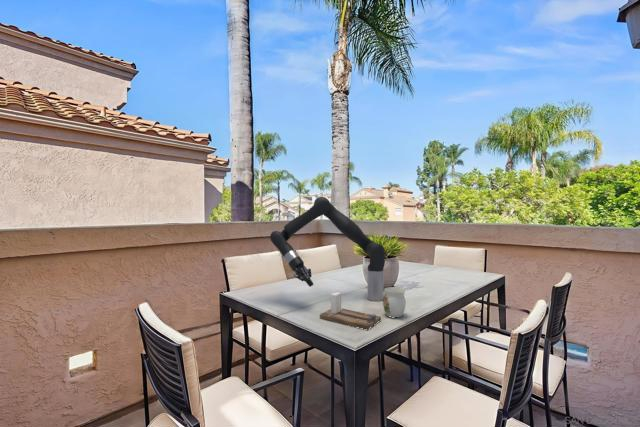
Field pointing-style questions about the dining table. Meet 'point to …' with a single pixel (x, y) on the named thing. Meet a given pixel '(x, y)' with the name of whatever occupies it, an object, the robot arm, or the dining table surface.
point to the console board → (351, 318)
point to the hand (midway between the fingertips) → (311, 285)
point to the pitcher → (394, 301)
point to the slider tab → (335, 302)
